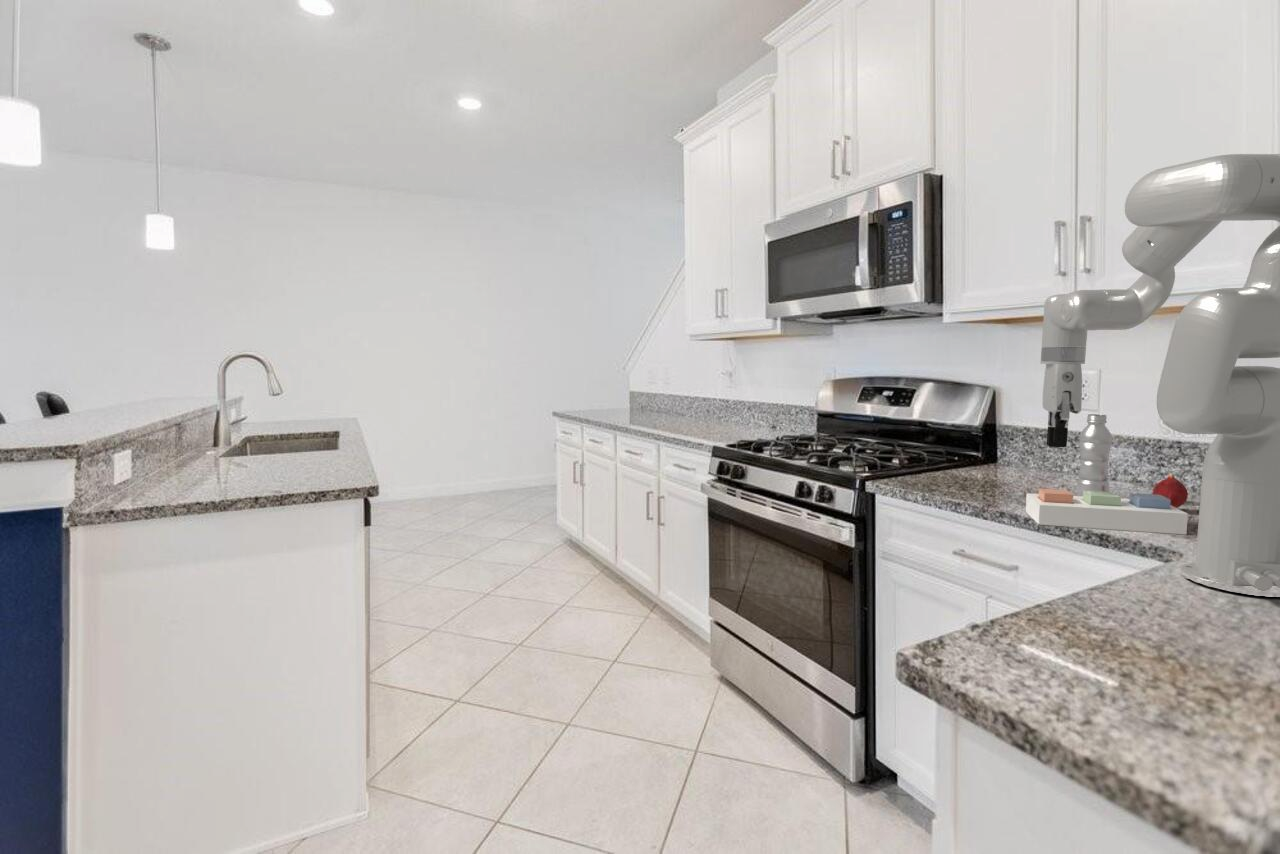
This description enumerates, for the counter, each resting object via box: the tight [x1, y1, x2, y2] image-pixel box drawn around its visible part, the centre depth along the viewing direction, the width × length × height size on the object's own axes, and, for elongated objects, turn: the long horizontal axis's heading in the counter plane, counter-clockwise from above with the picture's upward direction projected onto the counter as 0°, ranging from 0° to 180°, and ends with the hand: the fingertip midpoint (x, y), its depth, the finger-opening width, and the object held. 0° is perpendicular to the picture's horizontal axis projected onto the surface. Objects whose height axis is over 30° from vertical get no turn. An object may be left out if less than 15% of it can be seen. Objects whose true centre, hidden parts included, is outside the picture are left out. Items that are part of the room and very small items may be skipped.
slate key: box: [1129, 492, 1171, 509], centre depth 127 cm, size 5×5×3 cm
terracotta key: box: [1037, 488, 1074, 504], centre depth 132 cm, size 5×5×3 cm
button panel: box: [1025, 492, 1189, 535], centre depth 130 cm, size 12×24×4 cm, turn 70°
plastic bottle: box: [1075, 413, 1113, 496], centre depth 150 cm, size 6×7×20 cm
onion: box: [1152, 473, 1189, 509], centre depth 138 cm, size 6×6×8 cm
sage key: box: [1083, 491, 1122, 506], centre depth 129 cm, size 5×5×3 cm
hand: (1056, 446), depth 132 cm, fingers closed
